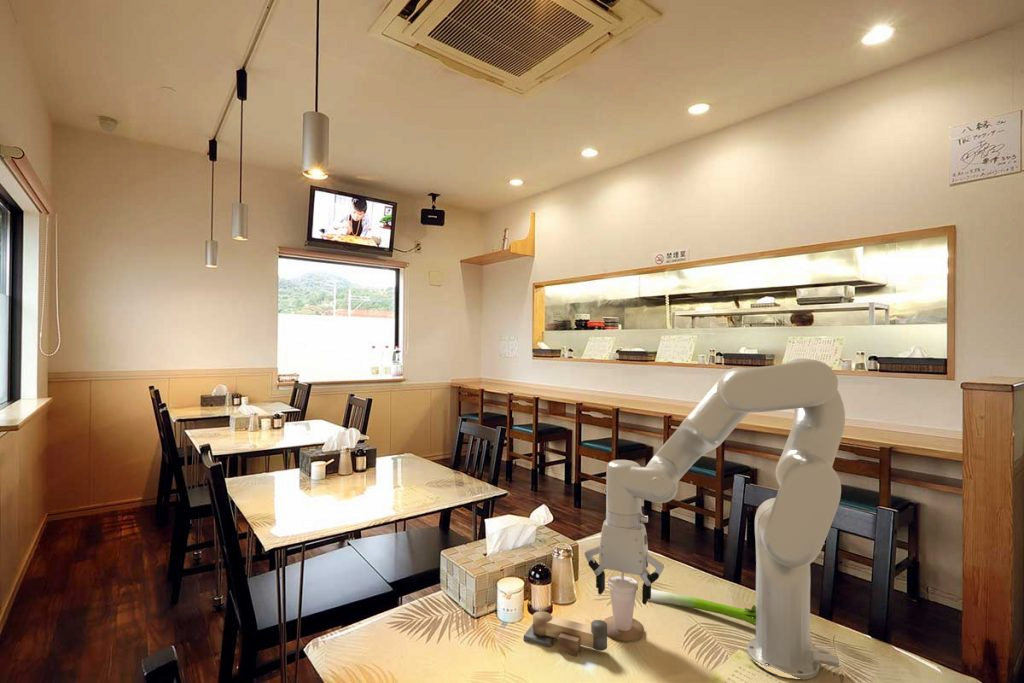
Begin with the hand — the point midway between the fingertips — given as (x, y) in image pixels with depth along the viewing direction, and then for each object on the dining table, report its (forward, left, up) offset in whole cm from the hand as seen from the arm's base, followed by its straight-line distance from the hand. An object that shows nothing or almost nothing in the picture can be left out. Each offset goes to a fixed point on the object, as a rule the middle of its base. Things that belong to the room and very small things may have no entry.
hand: (623, 596), depth 112 cm
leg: (+9, +10, -6) cm, 15 cm away
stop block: (+8, +13, -7) cm, 17 cm away
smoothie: (0, 0, -7) cm, 7 cm away
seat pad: (0, 0, -7) cm, 7 cm away
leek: (-17, -14, -8) cm, 24 cm away
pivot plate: (+15, +10, -7) cm, 19 cm away
